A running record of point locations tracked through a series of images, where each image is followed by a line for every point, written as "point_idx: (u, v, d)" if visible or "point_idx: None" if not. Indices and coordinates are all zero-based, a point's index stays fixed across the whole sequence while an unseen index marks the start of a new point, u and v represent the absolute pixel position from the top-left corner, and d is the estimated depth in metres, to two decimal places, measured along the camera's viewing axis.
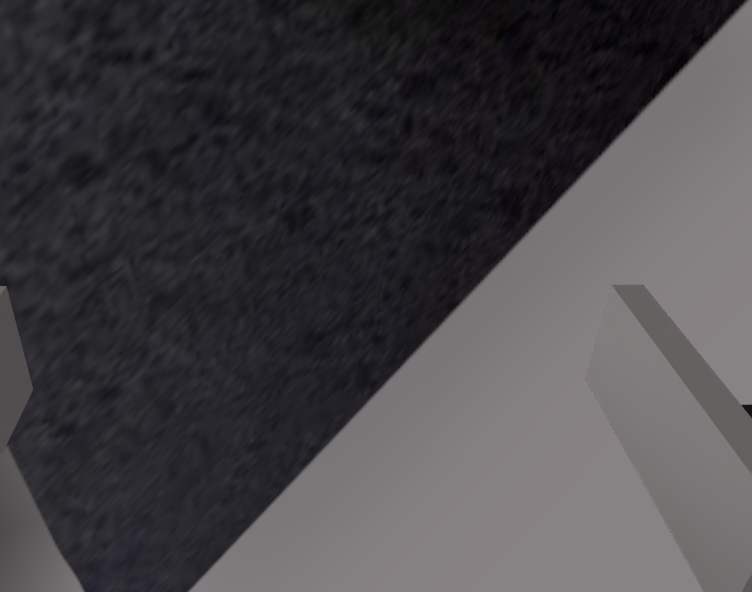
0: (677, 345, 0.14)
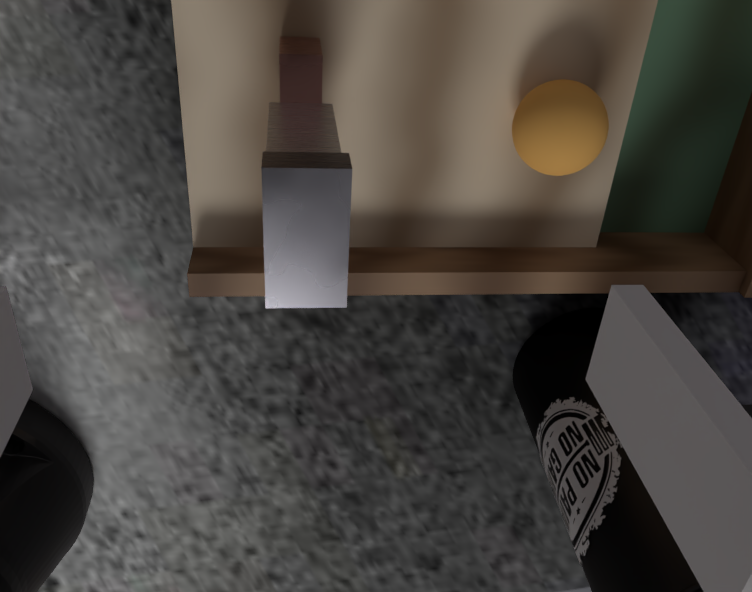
0: (677, 345, 0.14)
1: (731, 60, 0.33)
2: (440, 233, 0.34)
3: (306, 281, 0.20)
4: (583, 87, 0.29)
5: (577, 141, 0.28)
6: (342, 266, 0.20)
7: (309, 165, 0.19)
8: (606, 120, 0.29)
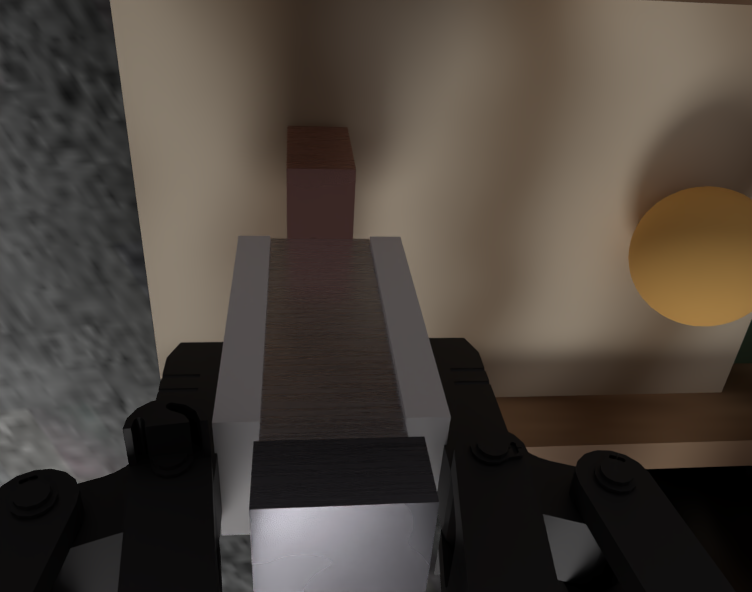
0: (399, 285, 0.15)
1: None
2: (510, 380, 0.24)
3: None
4: (749, 203, 0.19)
5: (742, 289, 0.18)
6: None
7: (350, 493, 0.09)
8: None
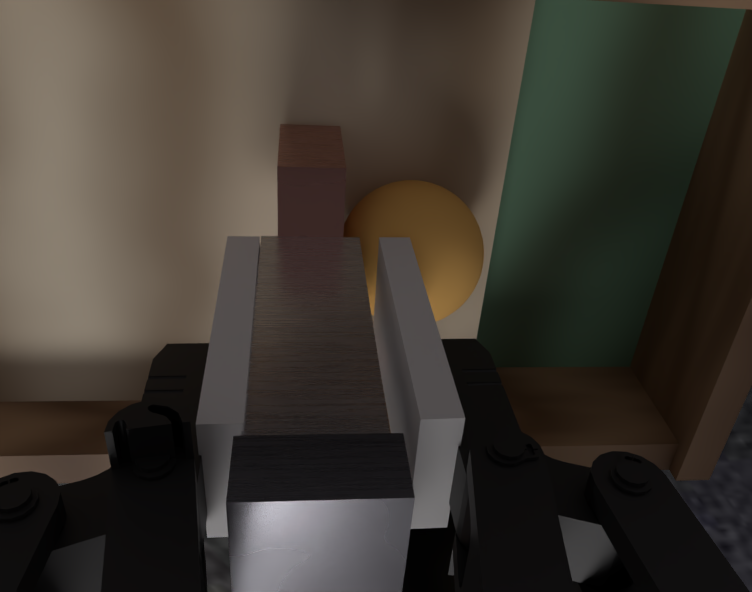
0: (410, 286, 0.15)
1: (656, 139, 0.22)
2: None
3: None
4: (442, 192, 0.18)
5: (462, 280, 0.18)
6: None
7: (327, 487, 0.09)
8: None
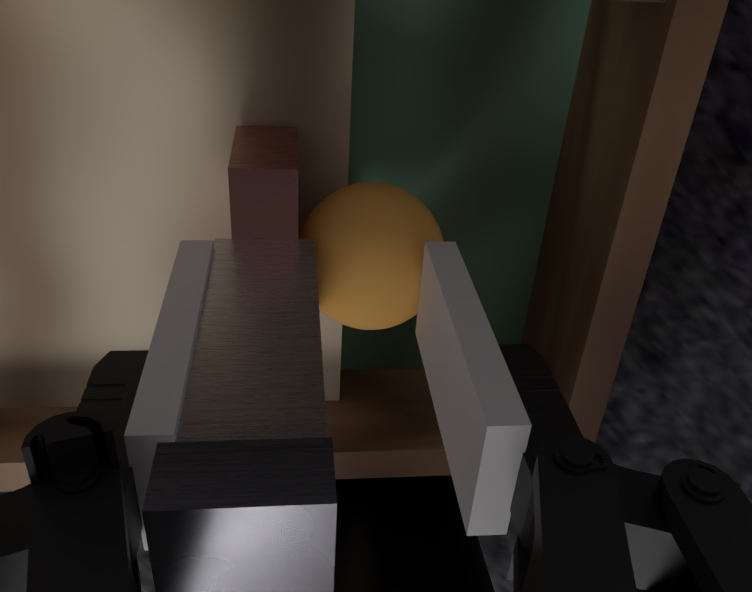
0: (462, 291, 0.15)
1: (515, 134, 0.22)
2: None
3: None
4: (385, 183, 0.19)
5: None
6: None
7: (247, 495, 0.09)
8: None
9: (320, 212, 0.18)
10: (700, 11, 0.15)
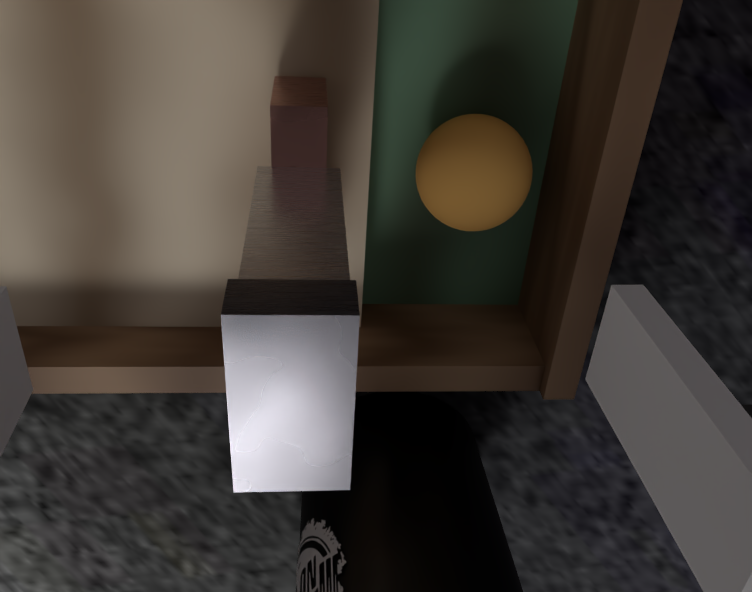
0: (677, 345, 0.14)
1: (517, 91, 0.25)
2: (147, 309, 0.27)
3: (292, 459, 0.14)
4: (461, 119, 0.23)
5: None
6: (344, 440, 0.14)
7: (295, 309, 0.12)
8: (421, 150, 0.24)
9: (508, 149, 0.22)
10: None
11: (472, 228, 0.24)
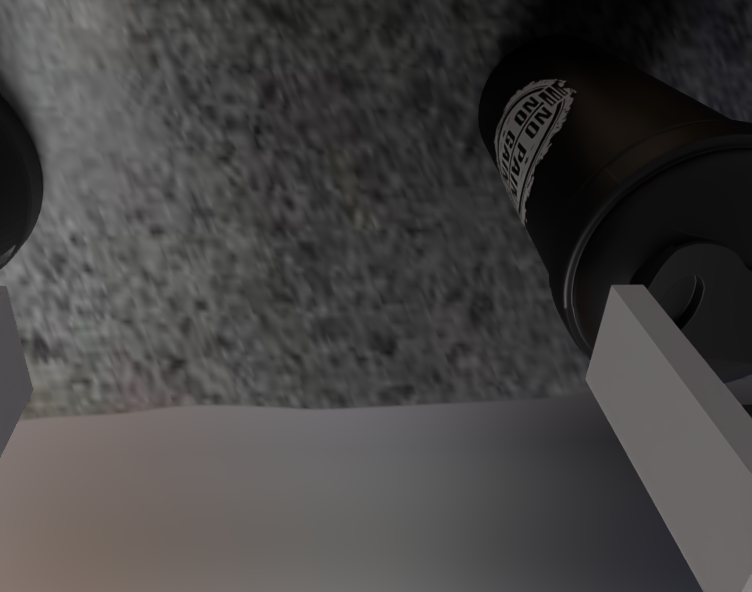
0: (677, 345, 0.14)
1: None
2: None
3: None
4: None
5: None
6: None
7: None
8: None
9: None
10: None
11: None
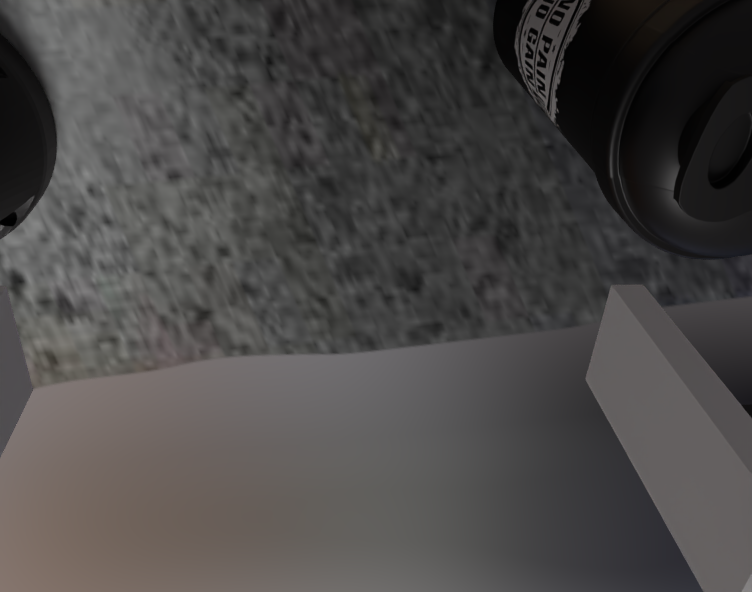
0: (677, 345, 0.14)
1: None
2: None
3: None
4: None
5: None
6: None
7: None
8: None
9: None
10: None
11: None
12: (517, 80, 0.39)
